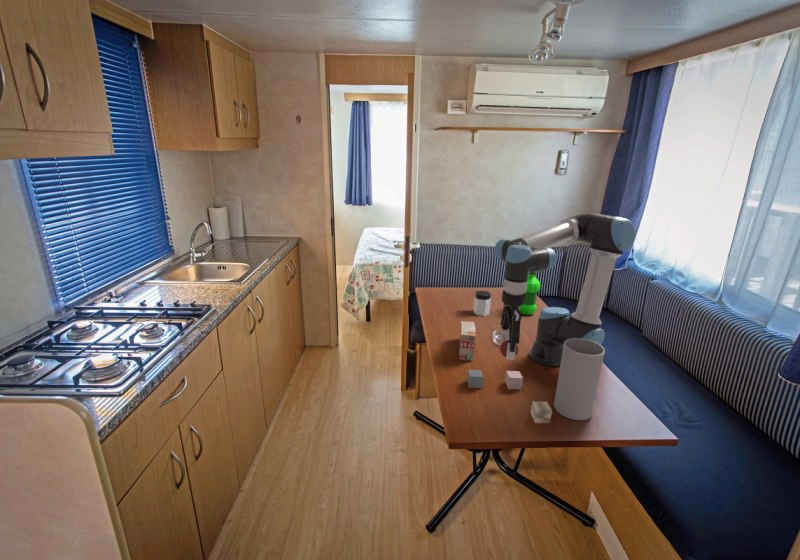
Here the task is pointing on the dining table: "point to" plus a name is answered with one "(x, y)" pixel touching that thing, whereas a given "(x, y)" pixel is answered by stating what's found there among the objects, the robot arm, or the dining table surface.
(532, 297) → the plastic bottle
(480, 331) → the dining table surface
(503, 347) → the fruit
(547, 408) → the birch block
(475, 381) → the slate grey block
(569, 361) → the cylinder vase
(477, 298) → the jar
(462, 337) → the stack of blocks
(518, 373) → the dusty rose block
